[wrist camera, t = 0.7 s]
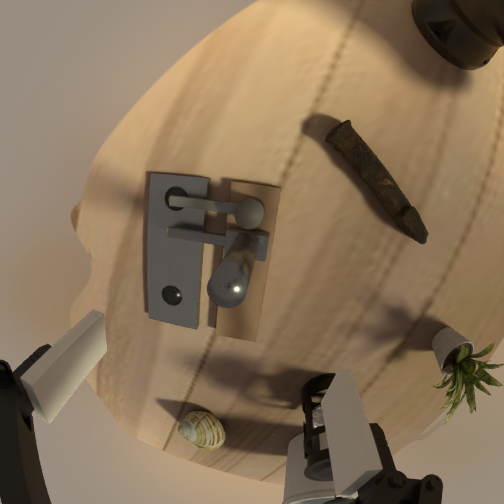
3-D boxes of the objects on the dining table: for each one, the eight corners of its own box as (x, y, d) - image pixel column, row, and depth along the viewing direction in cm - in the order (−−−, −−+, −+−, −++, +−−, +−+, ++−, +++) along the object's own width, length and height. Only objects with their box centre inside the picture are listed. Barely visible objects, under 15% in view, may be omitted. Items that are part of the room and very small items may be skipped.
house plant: (392, 340, 38) (428, 412, 23) (455, 285, 34) (512, 339, 19) (421, 378, 40) (450, 440, 25) (475, 333, 37) (517, 385, 21)
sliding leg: (269, 232, 34) (261, 278, 20) (266, 255, 34) (256, 313, 21) (169, 217, 34) (106, 250, 21) (167, 239, 35) (108, 282, 22)
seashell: (218, 443, 50) (190, 465, 41) (191, 411, 53) (161, 430, 44) (245, 430, 47) (217, 456, 38) (215, 395, 50) (183, 416, 41)
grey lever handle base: (280, 187, 33) (280, 191, 28) (256, 336, 40) (252, 360, 35) (177, 174, 34) (158, 177, 28) (171, 319, 41) (156, 340, 35)
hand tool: (320, 139, 31) (326, 134, 27) (343, 121, 30) (352, 114, 26) (401, 251, 34) (415, 262, 30) (421, 233, 33) (436, 242, 29)
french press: (323, 364, 41) (339, 489, 19) (364, 380, 41) (393, 490, 19) (285, 403, 44) (280, 514, 23) (325, 416, 45) (334, 517, 23)
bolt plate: (210, 178, 34) (207, 178, 33) (198, 325, 41) (196, 329, 40) (154, 173, 34) (150, 173, 33) (151, 314, 41) (148, 318, 40)
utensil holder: (280, 457, 51) (276, 517, 35) (290, 425, 47) (288, 498, 30) (338, 457, 50) (344, 514, 33) (358, 425, 45) (370, 492, 29)
